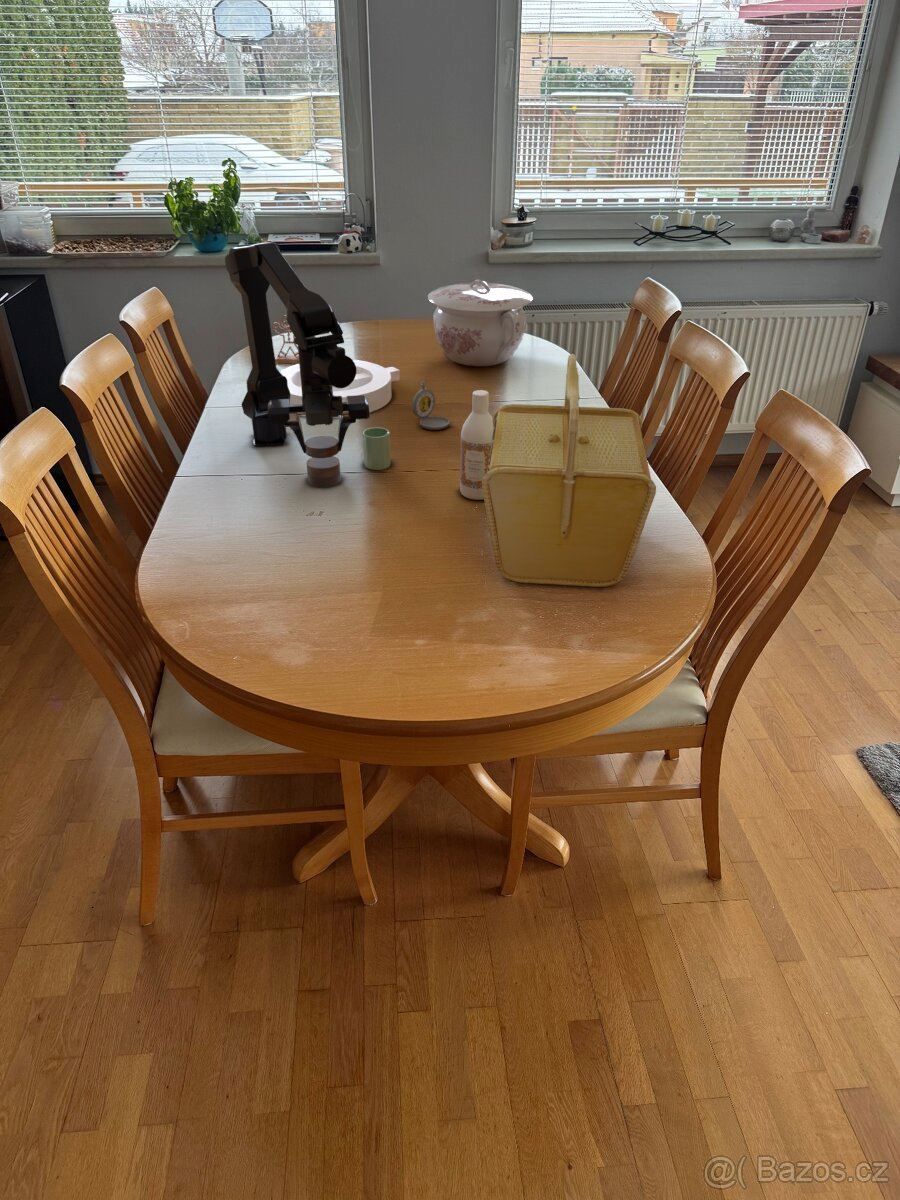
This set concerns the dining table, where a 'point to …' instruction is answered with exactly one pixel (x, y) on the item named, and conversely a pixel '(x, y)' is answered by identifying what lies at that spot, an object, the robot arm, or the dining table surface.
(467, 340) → the chamber pot
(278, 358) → the gingerbread man figurine
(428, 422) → the pocket watch
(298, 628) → the dining table surface
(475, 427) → the bath foam
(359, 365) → the ring with crossbar
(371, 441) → the plastic cup
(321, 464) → the middle chip
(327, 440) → the dark brown wooden disc
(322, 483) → the base chip
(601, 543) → the picnic basket
